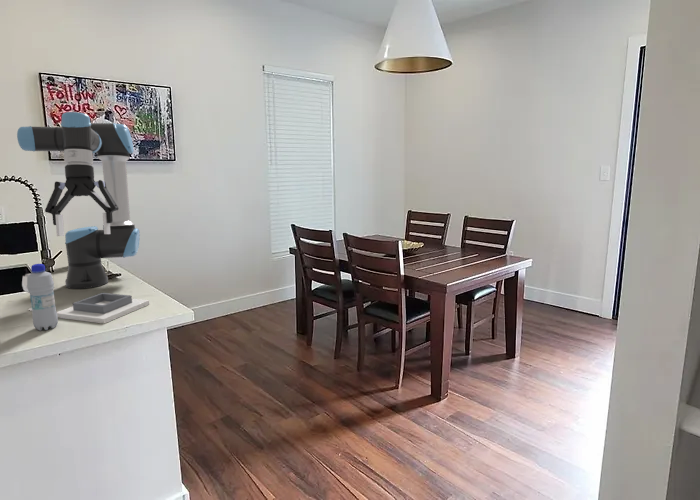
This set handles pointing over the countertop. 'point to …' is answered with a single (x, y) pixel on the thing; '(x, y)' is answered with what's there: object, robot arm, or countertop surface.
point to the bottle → (42, 297)
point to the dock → (102, 308)
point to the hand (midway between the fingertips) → (84, 235)
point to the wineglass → (25, 285)
